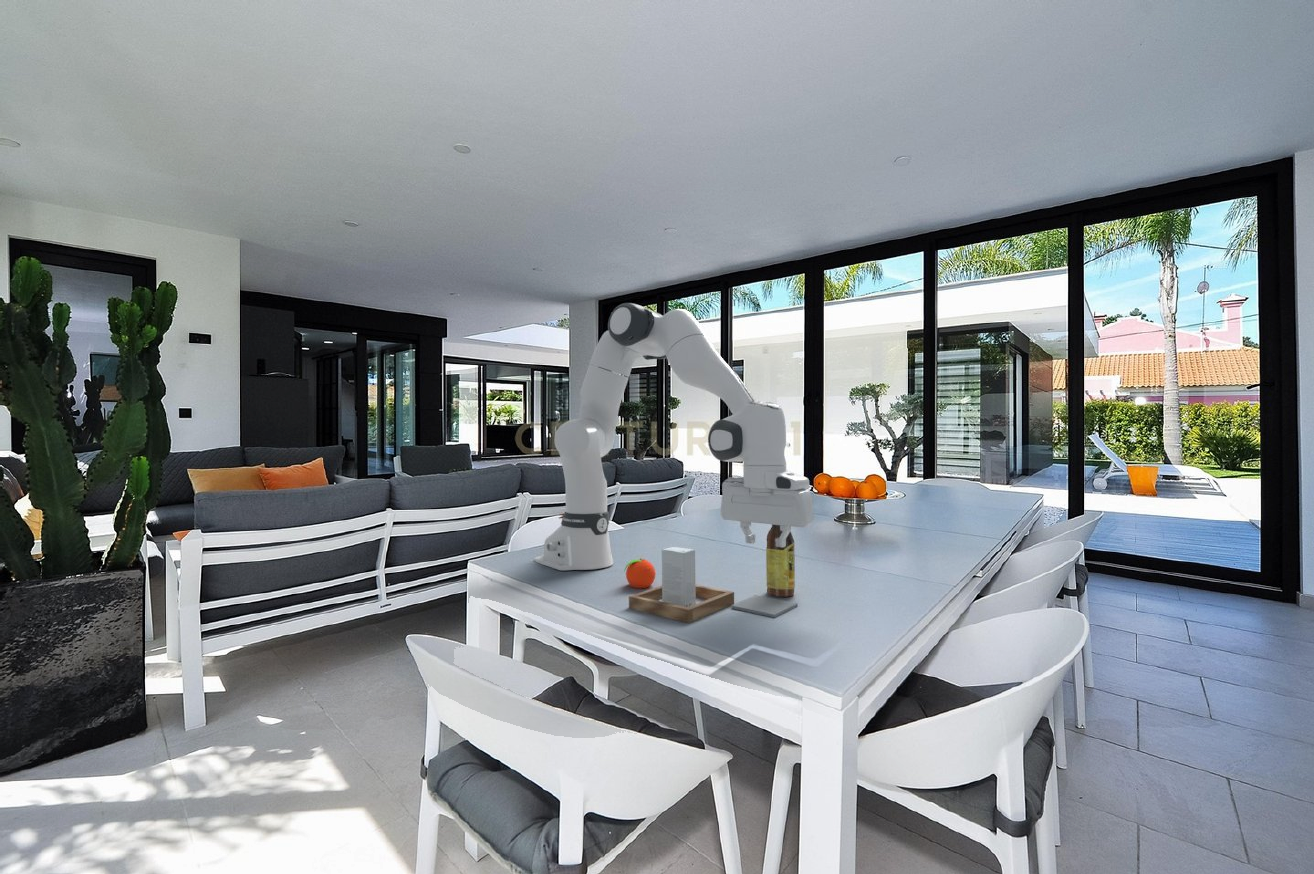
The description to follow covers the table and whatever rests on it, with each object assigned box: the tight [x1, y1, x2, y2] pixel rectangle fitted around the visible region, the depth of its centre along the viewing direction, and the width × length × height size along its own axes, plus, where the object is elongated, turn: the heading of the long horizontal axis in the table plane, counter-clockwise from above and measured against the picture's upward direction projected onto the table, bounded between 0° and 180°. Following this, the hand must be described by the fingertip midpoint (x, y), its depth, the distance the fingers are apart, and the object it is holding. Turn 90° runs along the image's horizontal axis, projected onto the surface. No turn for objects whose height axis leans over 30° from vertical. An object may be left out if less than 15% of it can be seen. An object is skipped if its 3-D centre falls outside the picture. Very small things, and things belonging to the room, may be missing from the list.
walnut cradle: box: [628, 584, 735, 624], centre depth 124 cm, size 15×16×2 cm
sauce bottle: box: [765, 524, 796, 598], centre depth 132 cm, size 6×6×20 cm
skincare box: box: [661, 546, 697, 607], centre depth 124 cm, size 6×4×12 cm
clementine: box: [623, 558, 656, 589], centre depth 137 cm, size 8×7×7 cm
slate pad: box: [730, 594, 798, 619], centre depth 123 cm, size 10×10×1 cm
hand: (765, 544), depth 123 cm, fingers open, 6 cm apart
